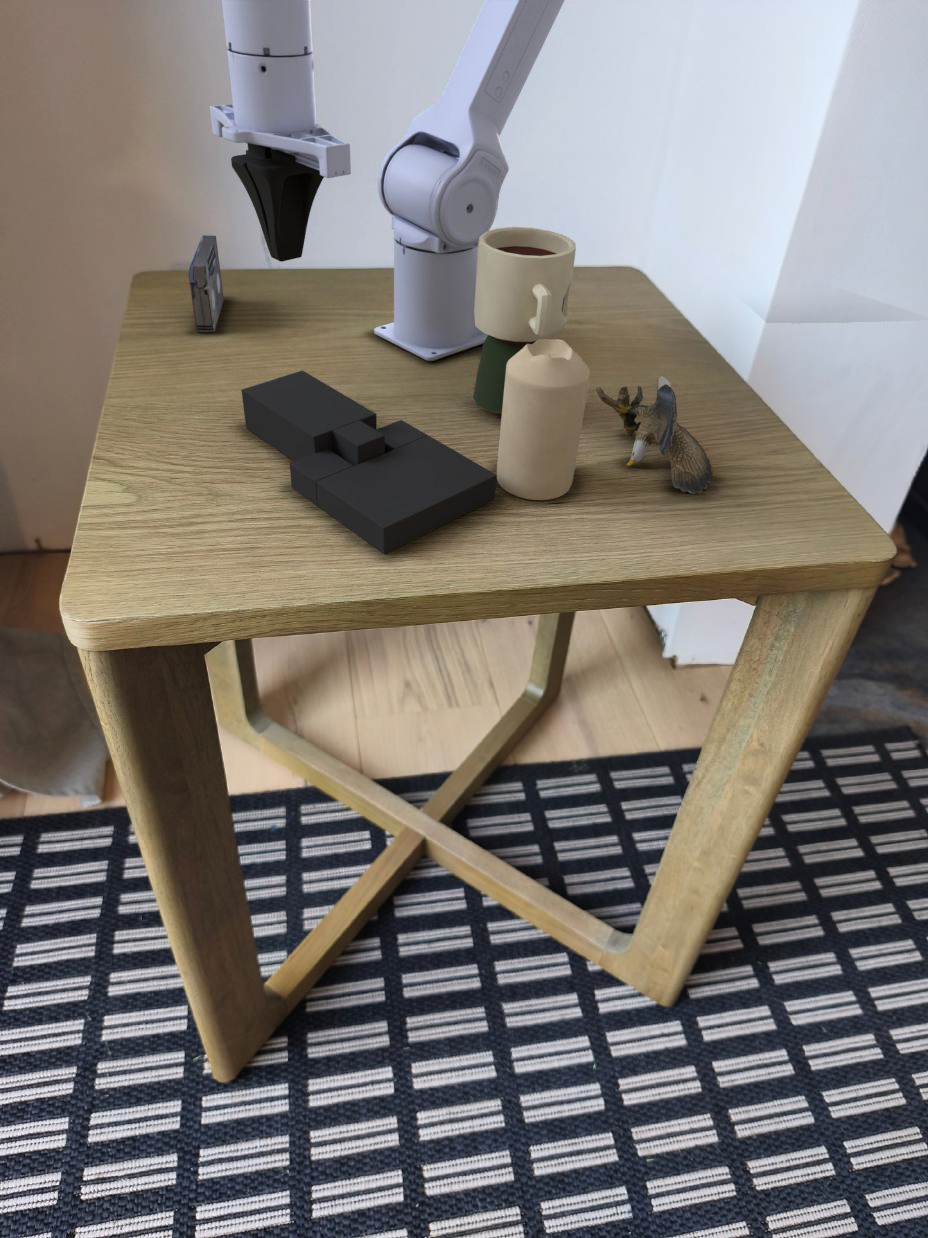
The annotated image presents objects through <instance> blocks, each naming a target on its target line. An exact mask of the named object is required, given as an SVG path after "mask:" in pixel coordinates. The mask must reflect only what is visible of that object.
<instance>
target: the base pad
mask: <svg viewBox="0 0 928 1238" xmlns="http://www.w3.org/2000/svg"><path fill="white" fill-rule="evenodd" d="M376 431H378V432H380V433H381V434H383V435H384V436H385V454H382V455H380V456H377V457H375V458H372V459H370V460H367V461H365V462H363V463H360V464H358V465H355V466H353V465H352V464H350V463H349V462H347V461H346V460H344V459H343V458H341V457H340V456H338V455H337V454H335V453H333V452H332V451H330V450H329V449H325V450H322V451H319V452H317V453H314V454H312V455H309V456H306V457H304V458H301V459H299V460H296V461H291V462H289V472H290V483H291V484H290V485H291V489H293V490H294V491H295V492H297V493H298V494H299V495H301V496H302V497H304V498H305V499H306V500H308V501H309V502H311V503H312V504H313V505H315V506H316V507H318V508H319V509H320V510H322V511H324V512H325V513H326V514H328V515H329V516H330V517H332V518H333V519H335V520H336V521H337V522H338V523H339V524H341V525H343V526H345V527H346V528H347V529H348V530H350V531H352V532H353V533H354V534H356V535H357V536H359V538H361V539H362V540H364V541H366V542H367V543H368V544H370V545H371V546H372V547H374V548H375V549H376V550H377V551H379V552H381V553H382V554H384V555H385V554H388V553H390V552H391V551H393V550H395V549H398V548H399V547H401V546H404V545H405V544H407V543H409V542H412V541H414V540H415V539H418V538H420V537H422V536H424V535H426V534H428V533H430V532H433V531H434V530H436V529H438V528H440V527H443V526H445V525H446V524H448V523H450V522H452V521H454V520H456V519H459V518H460V517H463V516H464V515H467V514H468V513H470V512H472V511H474V510H476V509H478V508H481V507H482V506H485V505H486V504H488V503H491V502H492V501H495V499H496V492H497V491H496V490H497V482H498V480H497V473H494V472H492V471H491V470H489V469H488V468H486V467H484V466H482V465H481V464H479V463H477V462H475V461H473V460H472V459H470V458H469V457H467V456H465V455H464V454H461V453H460V452H458V451H456V450H454V449H453V448H452V447H449V446H448V445H447V444H444V443H443V442H441V441H439V440H437V439H435V438H434V437H432V436H430V435H429V434H427V433H425V432H423V431H422V430H420V429H418V428H417V427H415V426H413V425H411V424H409V423H408V422H406V421H404V420H403V419H400V420H397V421H395V422H392V423H389V424H387V425H384V426H382V427H379V428H377V429H376Z"/></svg>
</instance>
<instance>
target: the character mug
mask: <svg viewBox="0 0 928 1238" xmlns="http://www.w3.org/2000/svg"><path fill="white" fill-rule="evenodd" d="M576 250H577V246H576V242H575V241H574V240H573V239H572V238H570V237H569V236H567V235H564V234H562V233H559V232H555V231H552V230H549V229H541V228H537V227H536V228H535V227H527V226H526V227H524V226H522V227H521V226H508V227H499V228H498V227H497V228H494V229H489V231H487V232H485V233H483V234H482V235H481V236H480V237H479V243H478V257H477V273H476V289H475V304H474V317H475V326H476V327H477V328H478V329H479V330H481V331H482V332H483V333H485V334H488V336H487V338H486V340H485V342H484V343H483V344H482V349H481V354H480V359H479V362H478V368H477V371H476V377H475V378H476V379H475V384H474V390H473V396H472V398H473V401H474V402H475V404H476V406H477V407H479V408H481V409H484V410H486V411H488V412H492V413H497V414H502V407H503V396H504V386H505V375H506V365H507V362H508V360H509V359H510V358H512V357H513V356H514V355H515V354H516V353H518V352H519V351H520V350H521V349H523V348H524V347H525V346H526V345H527V344H534V343H535V342H536V341H538V340H540V339H552V338H553V337H555V336H558V335H559V334H560V332H561V331H562V330H564V328H565V326H566V324H567V322H568V317H569V316H568V314H569V313H568V303H569V302H568V300H569V293H570V292H569V290H570V286H571V283H572V280H573V278H574V267H575V266H574V265H575V259H576V252H577V251H576Z"/></svg>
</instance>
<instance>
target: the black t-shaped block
mask: <svg viewBox="0 0 928 1238" xmlns="http://www.w3.org/2000/svg"><path fill="white" fill-rule="evenodd" d="M241 397H242V398H241V399H242V405H243V415H244V421H245V422H244V423H245V428H246V430H248V431H249V432H251V433H252V434H254V435H255V436H256V437H258V438H260V439H261V440H262V441H264V442H266V443H267V444H268V445H269V446H271V447H273V448H274V449H276V450H277V451H278V452H280V453H281V454H283V456H286V457H287V458H288V459H290V460H291V461H292V462H294V461H296V460H299V459H301V458H304V457H306V456H309V455H312V454H314V453H317V452H319V451H322V450H325V449H329V450H330V451H332V452H333V453H335V454H337V455H338V456H340V457H341V458H343V459H344V460H346V461H347V462H349V463H350V464H352V465H353V466H355V465H358V464H360V463H363V462H365V461H367V460H370V459H372V458H375V457H377V456H380V455H382V454H385V436H384V435H383V434H381V433H380V432H378V431H376V429H378V428H377V413H376V412H374V411H372V410H370V409H369V408H367V407H366V406H364V405H362V404H361V403H359V402H357V401H356V400H354V399H352V398H351V397H349V396H347V395H345V394H344V393H342V392H340V391H338V390H337V389H335V388H333V387H332V386H330V385H329V384H327V383H325V382H323V381H322V380H319V379H318V378H317V377H315V376H313V375H311V374H310V373H308V372H307V371H305V370H299V371H296V372H292V373H290V374H287V375H283V376H280V377H277V378H274V379H270V380H267V381H263V382H261V383H258V384H255V385H251V386H249V387H246V388H242V389H241Z"/></svg>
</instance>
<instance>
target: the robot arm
mask: <svg viewBox="0 0 928 1238" xmlns="http://www.w3.org/2000/svg"><path fill="white" fill-rule="evenodd" d="M564 3H565V0H484V2H483V4H482V6H481V8H480V11H479V13H478V15H477V17H476V20H475V22H474V24H473V26H472V28H471V30H470V32H469V35H468V37H467V38H466V39H467V40H466V42H465V44H464V46H463V49H462V50H461V53H460V55H459V57H458V59H457V61H456V63H455V66H454V67H453V71H452V73H451V75H450V77H449V79H448V82H447V84H446V86H445V88H444V90H443V92H442V95H441V97H440V99H439V100H438V101H437V102H436V103H434V104H432V105H431V106H430V107H428V108H427V109H425V110H424V111H422V112H421V113H419V114H418V115H416V116H415V117H414V118H413V119H412V120H411V122H410V124H409V126H408V128H407V131H406V132H405V133H404V136H403V137H402V138H401V140H400V141H399V142H398V143H397V144H396V145H394V146H393V147H392V148H390V150H389V151H388V153H387V154H386V155H385V157H384V159H383V160H382V163H381V165H380V167H379V171H378V177H377V191H378V196H379V200H380V202H381V204H382V206H383V208H384V210H385V211H387V213H388V214H390V215H391V230H393V321H392V322H389V323H386V324H383V325H380V326H377V327H374V328H373V334H374V335H376V336H378V337H380V338H382V339H384V340H386V341H388V342H390V343H391V344H394V345H395V346H397V347H399V348H401V349H402V350H406V351H407V352H409V353H411V354H413V355H415V356H417V357H419V358H421V359H423V360H425V361H427V362H434V361H437V360H440V359H442V358H445V357H448V356H451V355H454V354H457V353H460V352H462V351H466V350H468V349H471V348H474V347H477V346H480V345H483V344H484V342H485V340H486V338H487V336H488V334H485V333H483V332H482V331H481V330H479V329H478V328H477V327H476V326H475V317H474V304H475V289H476V273H477V257H478V243H479V237H480V236H481V235H482V234H483V233H485V232H487V231H490V230H491V228H492V225H493V224H494V221H495V219H496V216H497V212H498V209H499V208H498V206H499V199H500V194H501V189H502V186H503V184H504V181H505V179H506V177H507V176H508V173H509V168H510V167H509V163H508V159H507V156H506V154H505V151H504V148H503V145H502V143H501V139H500V136H501V134H502V132H503V130H504V128H505V125H506V124H507V121H508V120H509V118H510V115H511V113H512V111H513V109H514V107H515V105H516V103H517V101H518V99H519V97H520V95H521V92H522V90H523V88H524V86H525V84H526V82H527V80H528V79H529V75H530V74H531V72H532V70H533V67H534V65H535V63H536V61H537V59H538V57H539V55H540V52H541V50H542V49H543V46H544V44H545V42H546V40H547V38H548V36H549V33H550V32H551V30H552V28H553V25H554V23H555V22H556V19H557V17H558V15H559V13H560V11H561V9H562V7H563V4H564ZM221 7H222V15H223V25H224V35H225V44H226V53H227V61H228V71H229V81H230V90H231V100H232V103H227V104H218V105H217V104H216V105H210V106H209V113H210V121H211V130H212V135H214V136H216V137H218V138H223V139H224V140H226V141H229V142H231V143H236V144H244V143H245V144H246V145H247V149H246V150H245V154H237V155H233V156H232V157H231V158H230V162H231V163H230V164H231V167H232V169H233V170H234V173H235V174H236V176H237V177H238V178H239V180H240V182H241V183H242V185H243V187H244V189H245V191H246V193H247V195H248V197H249V199H250V202H251V203H252V206H253V208H254V210H255V214H256V217H257V219H258V223H259V225H260V228H261V232H262V235H263V237H264V240H265V244H266V246H267V249H268V253H269V255H270V258H272V259H274V260H276V261H278V262H281V263H282V262H286V261H291V260H296V259H299V258H302V256H303V251H304V246H305V240H306V235H307V229H308V222H309V219H310V215H311V210H312V207H313V204H314V201H315V197H316V195H317V193H318V190H319V188H320V186H321V184H322V182H323V180H324V179H325V178H326V179H331V178H337V177H342V176H343V177H344V176H349V175H351V173H352V170H351V168H352V167H351V166H352V165H351V144H350V143H349V142H347V141H345V140H341V139H339V138H338V137H336V136H335V135H334V134H332V133H331V132H330V131H329V130H327V129H326V128H325V127H324V126H322V125H321V124H320V123H319V122H317V106H316V89H315V88H316V86H315V67H314V66H315V65H314V52H313V50H314V47H313V32H312V31H313V29H312V12H311V11H312V10H311V0H221Z"/></svg>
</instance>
